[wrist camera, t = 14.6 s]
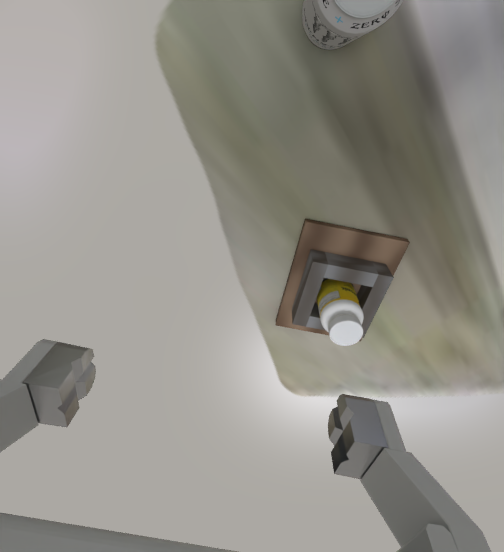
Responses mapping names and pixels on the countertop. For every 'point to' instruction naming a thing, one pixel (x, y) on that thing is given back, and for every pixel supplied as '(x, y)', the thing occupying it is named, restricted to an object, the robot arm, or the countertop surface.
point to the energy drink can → (344, 19)
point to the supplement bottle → (340, 311)
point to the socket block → (338, 271)
